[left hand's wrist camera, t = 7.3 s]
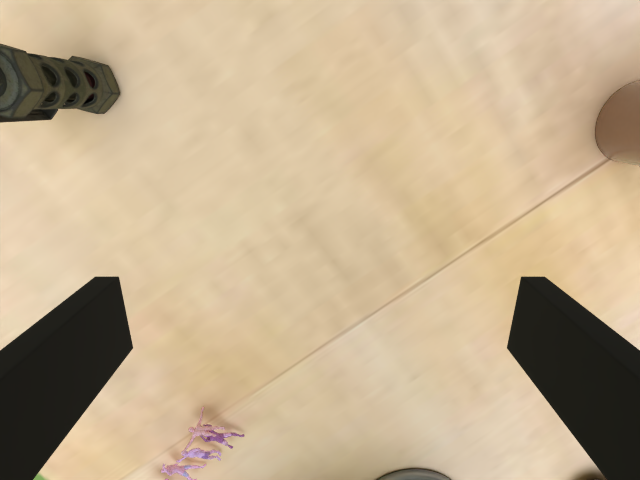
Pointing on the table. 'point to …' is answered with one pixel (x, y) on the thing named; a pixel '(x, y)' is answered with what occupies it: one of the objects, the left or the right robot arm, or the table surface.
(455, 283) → the table surface
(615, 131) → the bottle
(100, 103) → the grenade
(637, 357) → the left robot arm
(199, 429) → the people figure
